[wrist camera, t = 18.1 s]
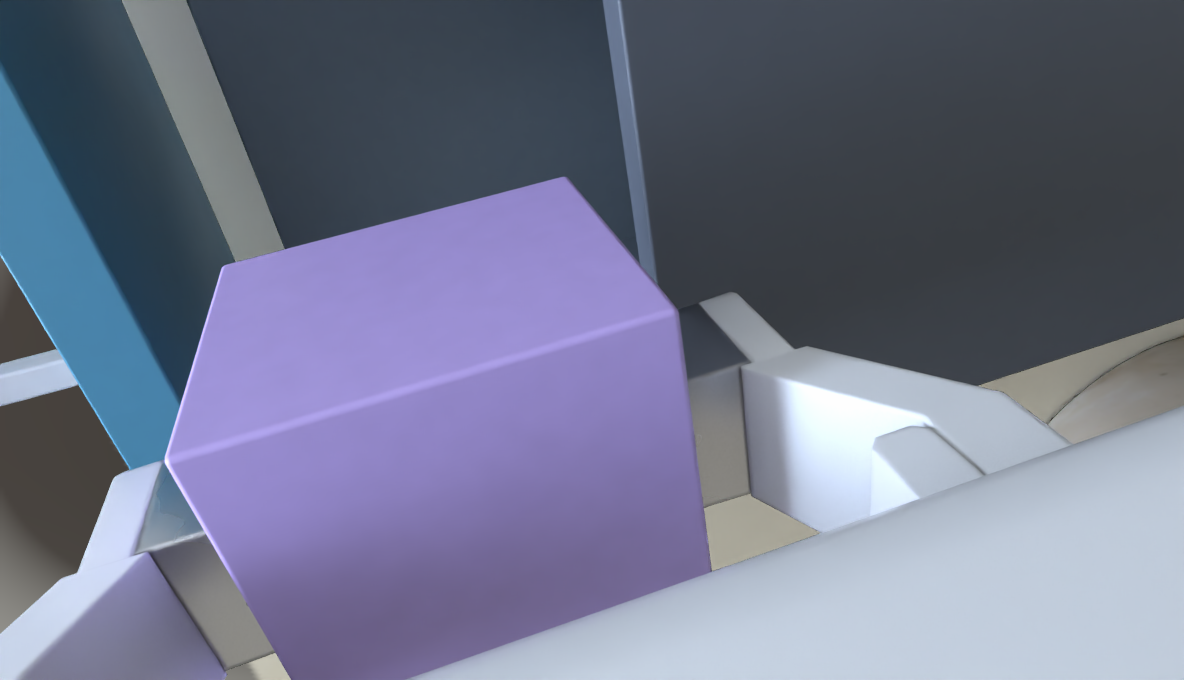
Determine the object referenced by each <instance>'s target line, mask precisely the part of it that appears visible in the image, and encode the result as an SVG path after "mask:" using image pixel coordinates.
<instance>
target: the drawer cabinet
mask: <svg viewBox="0 0 1184 680" xmlns="http://www.w3.org/2000/svg"><path fill="white" fill-rule="evenodd" d="M603 6H604V13H605V20H606V27H607V34H608V41H609V48H610V55H611V62H612V69H613V76H614V84H615V91H616V98H617V105H618V112H619V119H620V126H621V133H622V140H623V147H624V154H625V161H626V168H627V175H628V182H629V189H630V196H631V203H632V210H633V217H634V224H635V231H636V238H637V245H638V253H639V260H640V265H641V266H642V267H643V268H644V269H645V271H646V272H647V273H648V274H649V275H650V277H651V278H652V279H653V280H654V281H655V283H656V284H657V285H658V286H659V287H660V289H661V290H662V291H663V292H664V293H665V295H666V296H667V297H668V298H669V299H670V301H671V302H672V303H673V304H674V305H675V307H676V308H677V309H680V308H683V307H686V306H689V305H692V304H696V303H699V302H702V301H705V300H708V299H711V298H713V297H716V296H719V295H722V294H725V293H728V292H733V293H737V294H738V295H739V296H740V297H741V298H742V299H743V300H744V301H745V302H746V303H747V304H748V305H750V306H751V307H752V308H753V309H754V310H755V311H756V312H757V313H758V314H759V315H760V316H761V317H762V318H763V319H764V320H765V321H766V322H767V323H768V324H769V325H770V326H771V327H772V328H774V329H775V330H776V331H777V332H778V333H779V334H780V335H781V336H782V337H783V338H784V339H785V340H786V341H787V342H788V343H789V344H790V345H791V346H792V347H793V348H794V349H798V348H802V347H805V346H808V347H813V348H817V349H821V350H826V351H830V352H834V353H838V354H843V355H847V356H851V357H855V358H860V359H864V360H868V361H872V362H877V363H881V364H885V365H889V366H894V367H898V368H902V369H906V370H911V371H915V372H919V373H923V374H928V375H932V376H936V377H941V378H945V379H949V380H953V381H958V382H962V383H966V384H970V385H975V386H978V385H981V384H984V383H987V382H990V381H993V380H996V379H999V378H1002V377H1005V376H1008V375H1011V374H1015V373H1018V372H1021V371H1024V370H1027V369H1030V368H1033V367H1036V366H1039V365H1042V364H1045V363H1048V362H1051V361H1054V360H1058V359H1061V358H1064V357H1067V356H1070V355H1073V354H1076V353H1079V352H1082V351H1085V350H1088V349H1091V348H1094V347H1097V346H1100V345H1104V344H1107V343H1110V342H1113V341H1116V340H1119V339H1122V338H1125V337H1128V336H1131V335H1134V334H1137V333H1140V332H1143V331H1147V330H1150V329H1153V328H1156V327H1159V326H1162V325H1165V324H1168V323H1171V322H1174V321H1177V320H1180V319H1183V318H1184V0H603Z"/></svg>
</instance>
